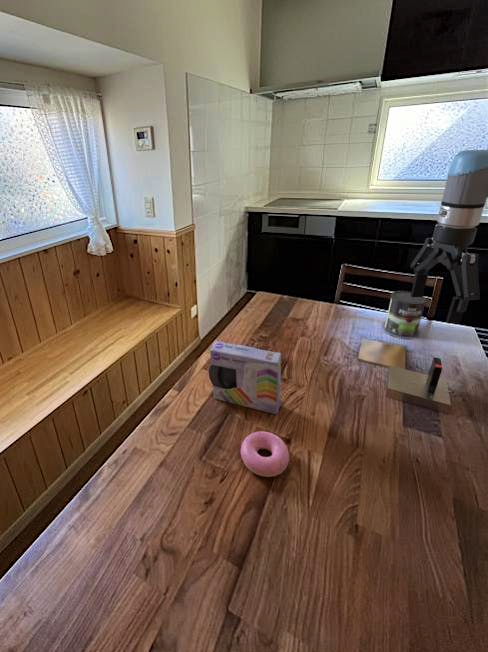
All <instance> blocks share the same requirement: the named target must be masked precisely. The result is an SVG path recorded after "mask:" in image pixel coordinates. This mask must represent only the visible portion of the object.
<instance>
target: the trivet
mask: <svg viewBox="0 0 488 652" xmlns="http://www.w3.org/2000/svg"><path fill="white" fill-rule="evenodd" d="M357 361H359V362H363V363H367V364H371V365H375V366H378V367H383V368H387V369H388V368H389V366H393V367H398V368H402V369H406V347H405V346H400V345H396V344H390V343H385V342H380V341H376V340H373V339H367V338H364V337H363V338H361V342H360V347H359V351H358V356H357Z"/></svg>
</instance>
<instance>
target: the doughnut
mask: <svg viewBox="0 0 488 652" xmlns="http://www.w3.org/2000/svg"><path fill="white" fill-rule="evenodd" d="M260 450H267V451H268V452H270V453H271V455H269V456H262V455H261V454H260V453H259V452H258V451H260ZM240 457H241V459H242V462H243V464H244V466H245V467H246V468H247V469H248V470H249V471H250V472H252V473H253V474H255V475H256V476H259V477H264V478H272V477H273V478H274V477H276V476H279V475H281V474H282V473H283V472H284V471H285V470H286V469H287V467H288V465H289V464H290V452H289V447H288V446H287V444H286V442H284V440H283V439H281V438H280V436H278V435H276V434H275V433H272V432H270V431H264V430H263V431H261V430H260V431H255V432H252V433H249V434H248V435H247V436H245V437H244V439H243V441H242V443H241V446H240Z"/></svg>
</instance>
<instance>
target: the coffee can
mask: <svg viewBox="0 0 488 652" xmlns="http://www.w3.org/2000/svg"><path fill="white" fill-rule="evenodd" d="M411 292H412V291H408V290H395V291H393V292H392V293H391V294H390V301H389V305H388V310H387V315H386V321H385V323H384V329H385V330H386V331H388V332H389V334H388V335H389V336H390V337H393V338H396V339H400V340H412V338H411V337H414V336H417V334H418V331H419V328H420V324H421V320H422V317H423V314H424V313H423V312H424V309H425V305H426V303H427V298H426V297H425V296H424V295H423V297H411Z"/></svg>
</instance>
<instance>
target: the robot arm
mask: <svg viewBox="0 0 488 652" xmlns="http://www.w3.org/2000/svg"><path fill="white" fill-rule="evenodd" d="M451 160H452V161H451V162H450V165H449V169H448V172H447V176H446V182H445V185H444V191H443V195H442V199H441V203H440V207H439V211H438V215H437V219H436V222H437V223H436V224H435V226H434V229H433V234H432V237H426V238H425V240H424V244H423V246H422V247H421V248H420V250H419V251H418V253H417V254H416V256H415V258H414V259H413V261H412V262H411V263H410V269H413V272H414V275H413V276H414V277H413V284H412V289H411V291H410V292H411V297H423V296H424V292H425V288H426V285H427V280H428V277H429V274H428V272H429V270H431V269H432V268H433V267H435V265H437V264H438V263H439V264H442V265H443V266H445V267H446V270H448V271H449V272H450V273H449V274H450V276H451V280H452V284H453V287H454V291H455V294H456V296H453V297H452V299H451V304H450V306H449V310H448V313H447V317H446V320H445V322H446V323H447V324H460V323H461V321H462V318H463V315H464V313H465V312H466V311H467V308H468V305H469V302H470V301H476V300H480V299H481V292H480V291H481V290H480V282H479V281H480V279H479V269H478V264H479V263H478V262H479V258H480V255H479V254H478V253H470V252H468V247H469V246H471V245H472V244H473V243H474V241H475V237H476V235H477V231H478V228H477V227H476V226H479V225H480V222H481V219H482V215H483V213H484V212H483V211H484V207H485V205H486V202H487V199H488V149H467V150H466V149H465V150H460V151H458V152H456V153H455V154H454V156H453V157H452V159H451Z"/></svg>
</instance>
